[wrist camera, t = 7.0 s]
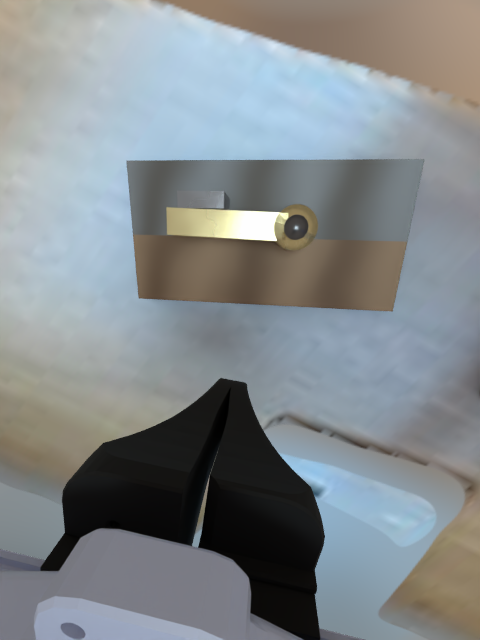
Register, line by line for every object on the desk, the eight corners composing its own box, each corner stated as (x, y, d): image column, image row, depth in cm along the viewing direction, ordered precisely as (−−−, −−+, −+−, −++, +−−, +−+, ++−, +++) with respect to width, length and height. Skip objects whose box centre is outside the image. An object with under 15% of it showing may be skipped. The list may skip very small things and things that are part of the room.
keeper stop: (229, 198, 18) (223, 191, 15) (229, 213, 18) (223, 208, 15) (188, 198, 18) (177, 190, 15) (189, 213, 18) (177, 207, 16)
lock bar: (312, 212, 17) (322, 204, 14) (307, 251, 18) (315, 251, 15) (181, 206, 18) (164, 197, 15) (181, 243, 18) (165, 242, 15)
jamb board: (413, 165, 17) (424, 159, 16) (385, 307, 20) (392, 311, 18) (135, 166, 19) (126, 160, 18) (145, 295, 22) (138, 298, 20)
